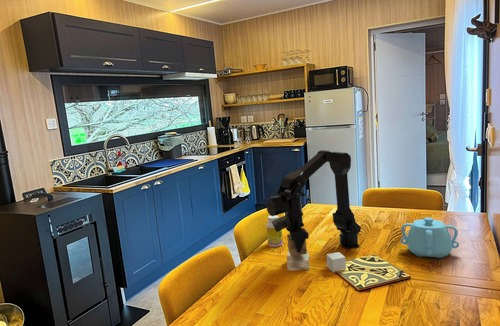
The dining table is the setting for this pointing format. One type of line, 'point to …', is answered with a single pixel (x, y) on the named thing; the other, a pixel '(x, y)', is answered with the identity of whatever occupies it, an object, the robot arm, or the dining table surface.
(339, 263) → the grey cube
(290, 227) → the robot arm
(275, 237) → the supplement bottle
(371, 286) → the dining table surface
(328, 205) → the dining table surface
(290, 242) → the walnut cube
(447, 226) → the decorative pot
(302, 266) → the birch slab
